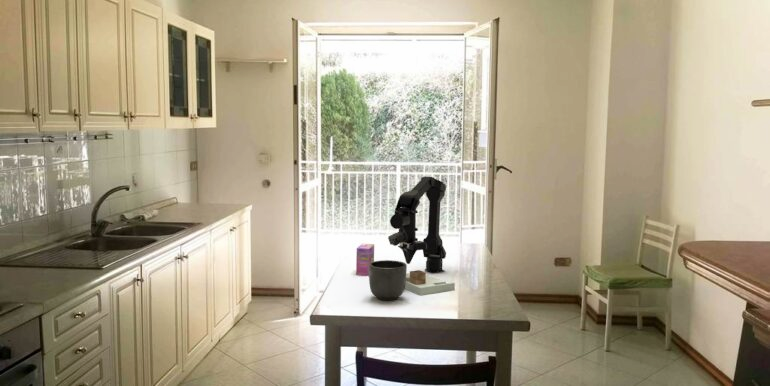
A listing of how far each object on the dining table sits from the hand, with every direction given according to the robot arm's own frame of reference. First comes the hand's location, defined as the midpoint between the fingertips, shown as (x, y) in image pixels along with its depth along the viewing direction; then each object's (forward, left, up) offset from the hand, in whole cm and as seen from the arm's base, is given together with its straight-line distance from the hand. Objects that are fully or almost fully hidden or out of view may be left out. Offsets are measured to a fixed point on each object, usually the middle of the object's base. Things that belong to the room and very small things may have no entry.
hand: (408, 263), depth 248 cm
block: (+1, +8, -6) cm, 10 cm away
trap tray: (-3, +5, -8) cm, 10 cm away
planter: (+18, +15, -8) cm, 25 cm away
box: (+6, -25, -8) cm, 27 cm away
